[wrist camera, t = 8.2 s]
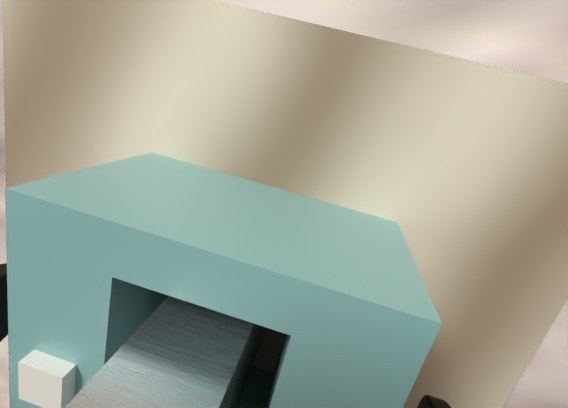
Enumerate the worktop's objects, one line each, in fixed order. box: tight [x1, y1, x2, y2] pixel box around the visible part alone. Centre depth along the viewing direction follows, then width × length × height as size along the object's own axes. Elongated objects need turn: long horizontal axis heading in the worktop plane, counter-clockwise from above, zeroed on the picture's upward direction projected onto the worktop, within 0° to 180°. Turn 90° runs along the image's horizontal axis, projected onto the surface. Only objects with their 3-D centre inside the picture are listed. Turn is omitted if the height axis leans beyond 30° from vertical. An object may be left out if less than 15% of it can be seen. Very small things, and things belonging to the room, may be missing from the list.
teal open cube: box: [5, 152, 442, 408], centre depth 7 cm, size 6×6×4 cm
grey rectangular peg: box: [65, 296, 264, 408], centre depth 7 cm, size 2×3×6 cm, turn 166°
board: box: [2, 0, 568, 408], centre depth 10 cm, size 15×14×2 cm
